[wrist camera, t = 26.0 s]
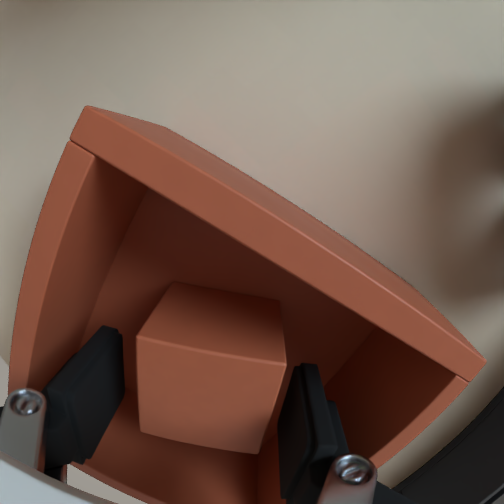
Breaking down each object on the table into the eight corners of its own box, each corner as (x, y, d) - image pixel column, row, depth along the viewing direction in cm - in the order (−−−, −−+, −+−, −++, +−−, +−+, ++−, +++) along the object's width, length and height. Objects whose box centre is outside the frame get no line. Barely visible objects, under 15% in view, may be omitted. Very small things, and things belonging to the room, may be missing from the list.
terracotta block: (260, 383, 13) (259, 455, 9) (167, 365, 13) (138, 432, 9) (280, 299, 12) (287, 364, 8) (172, 280, 12) (134, 335, 8)
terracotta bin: (262, 452, 15) (261, 538, 10) (66, 350, 14) (7, 420, 8) (414, 287, 12) (488, 361, 7) (164, 126, 11) (84, 104, 5)
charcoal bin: (469, 496, 18) (486, 534, 13) (390, 489, 16) (407, 548, 11) (555, 413, 15) (582, 448, 10) (511, 376, 14) (557, 430, 8)
